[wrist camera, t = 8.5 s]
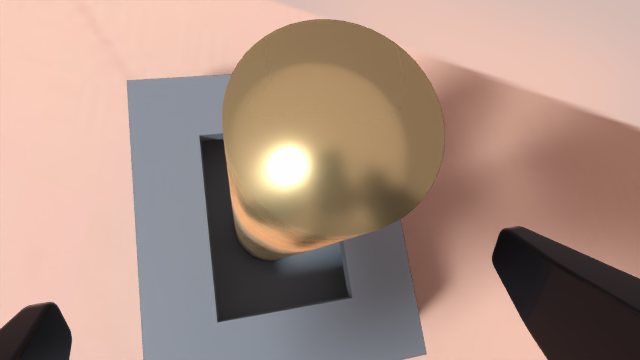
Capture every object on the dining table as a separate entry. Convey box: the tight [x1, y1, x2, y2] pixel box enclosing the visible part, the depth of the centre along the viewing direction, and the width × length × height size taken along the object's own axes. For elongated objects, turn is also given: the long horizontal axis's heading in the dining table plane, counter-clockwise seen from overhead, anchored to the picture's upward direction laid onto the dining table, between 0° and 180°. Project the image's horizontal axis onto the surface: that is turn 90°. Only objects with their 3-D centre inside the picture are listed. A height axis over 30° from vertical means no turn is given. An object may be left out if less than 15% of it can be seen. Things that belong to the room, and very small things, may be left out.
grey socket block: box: [127, 74, 427, 360], centre depth 17 cm, size 12×10×4 cm
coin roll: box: [222, 19, 445, 261], centre depth 12 cm, size 3×3×13 cm
